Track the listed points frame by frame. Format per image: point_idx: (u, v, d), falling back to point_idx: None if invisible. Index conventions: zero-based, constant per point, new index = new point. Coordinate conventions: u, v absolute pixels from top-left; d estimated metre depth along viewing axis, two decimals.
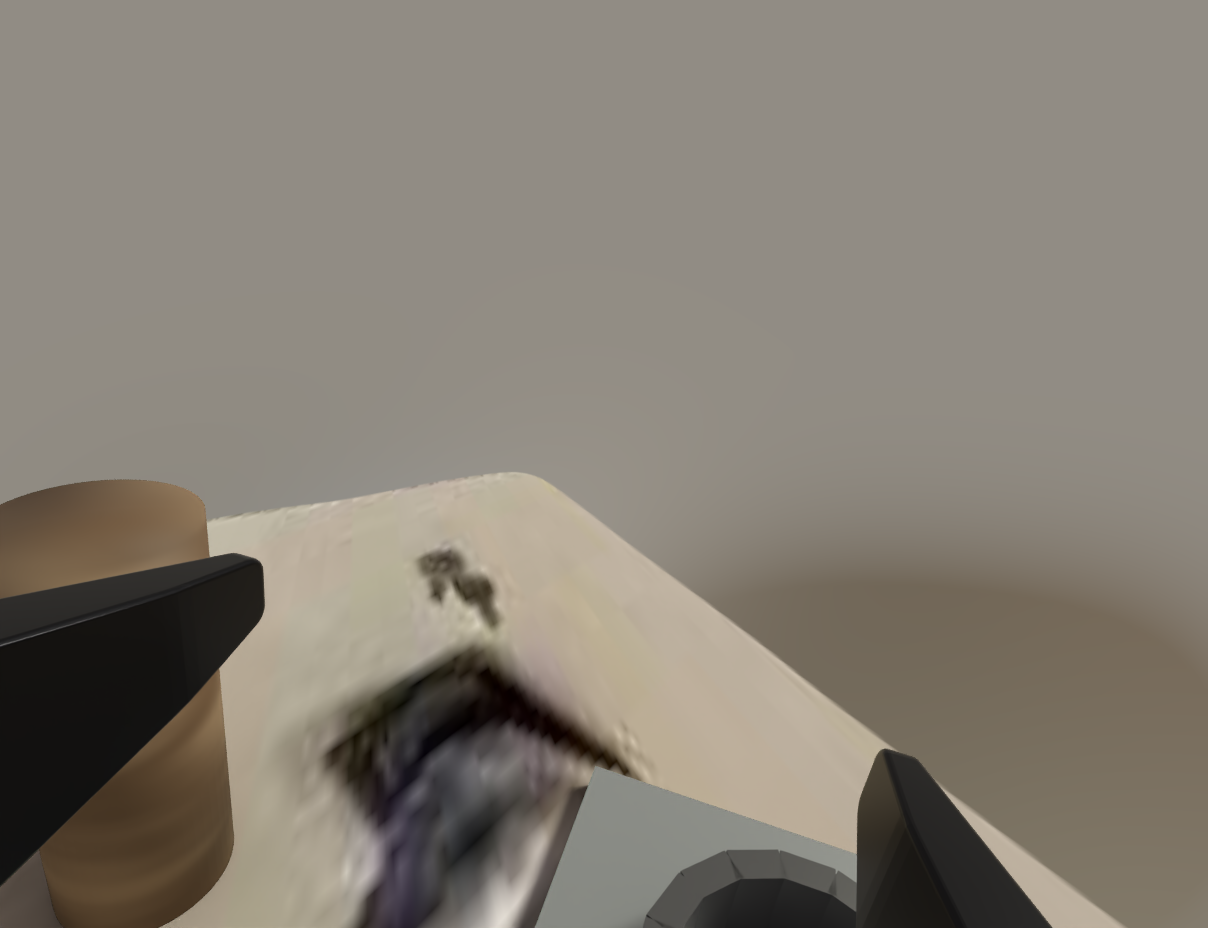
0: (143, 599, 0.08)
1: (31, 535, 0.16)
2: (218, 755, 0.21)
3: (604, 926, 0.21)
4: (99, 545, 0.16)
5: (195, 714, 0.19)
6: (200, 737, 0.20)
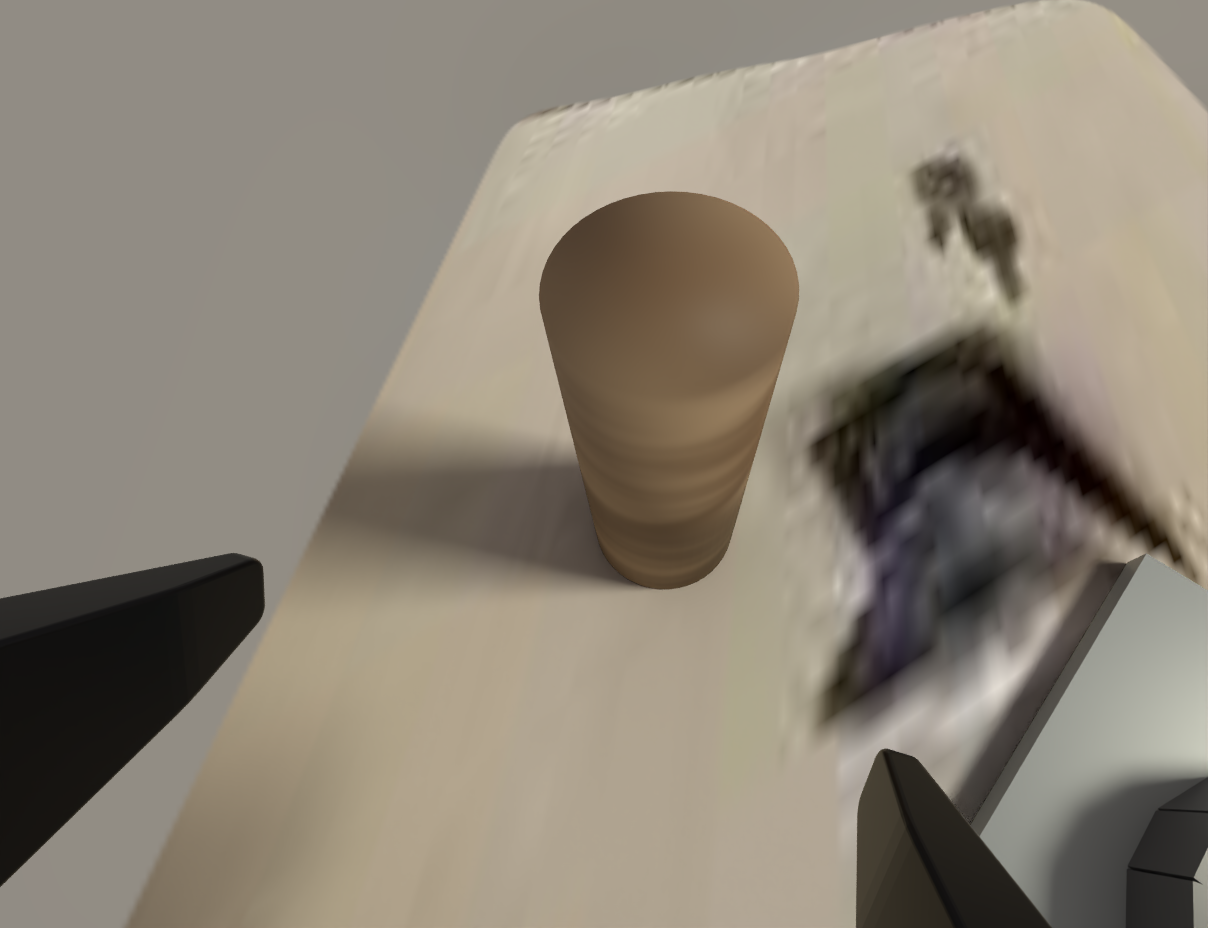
0: (143, 599, 0.08)
1: (607, 314, 0.13)
2: (744, 488, 0.20)
3: (1129, 752, 0.19)
4: (687, 345, 0.12)
5: (743, 477, 0.17)
6: (740, 489, 0.18)
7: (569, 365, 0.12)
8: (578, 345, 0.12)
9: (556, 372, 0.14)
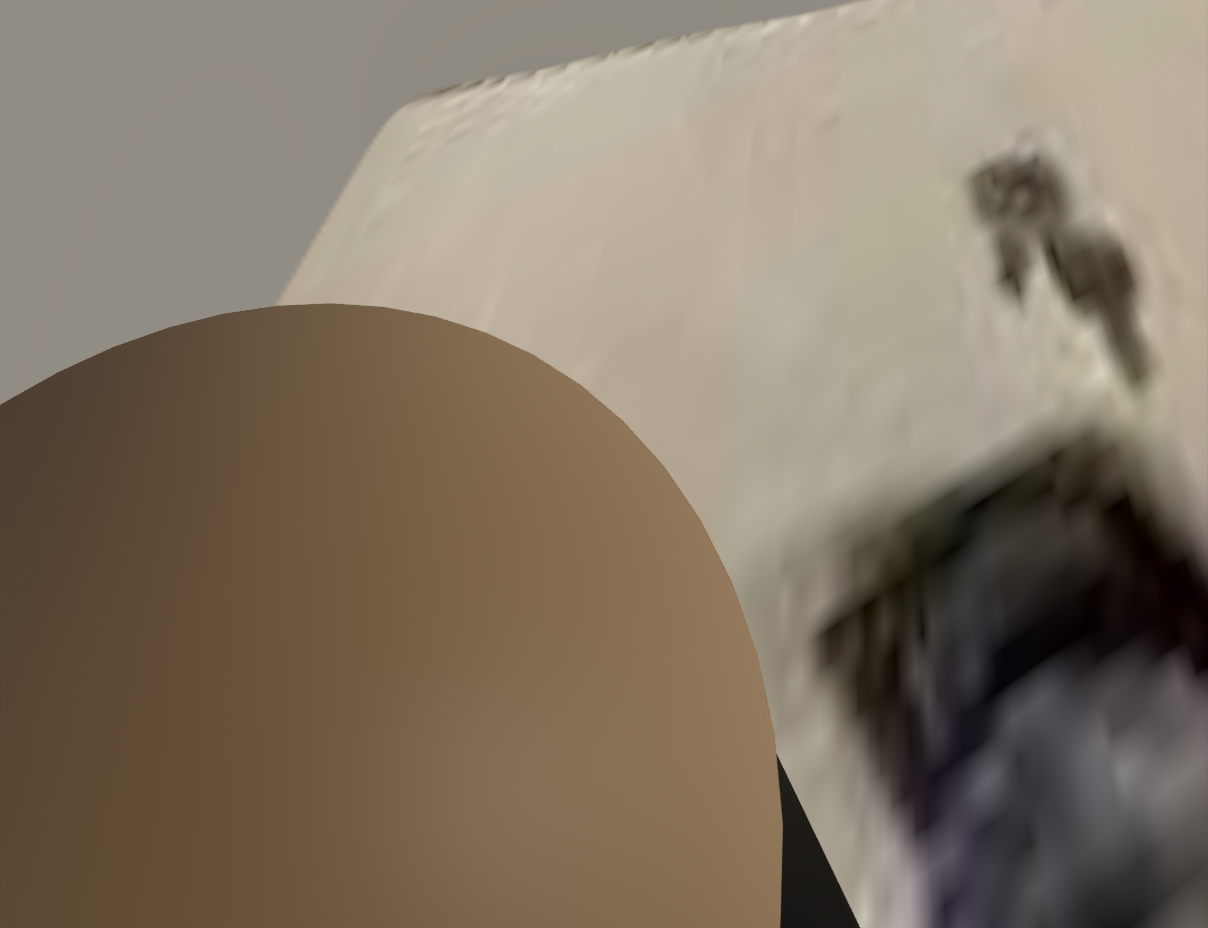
0: None
1: None
2: None
3: None
4: None
5: None
6: None
7: None
8: None
9: None
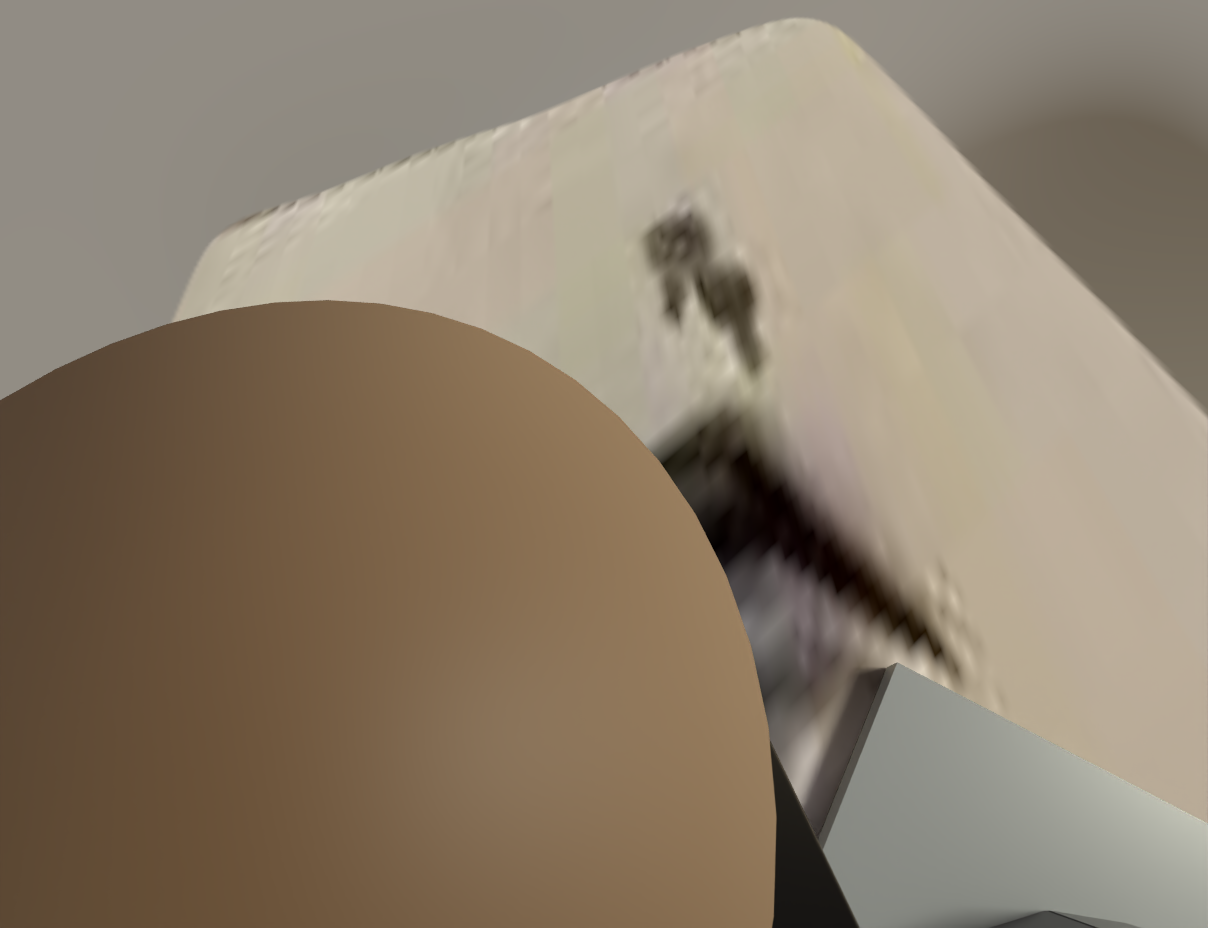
0: None
1: None
2: None
3: (892, 919, 0.17)
4: None
5: None
6: None
7: None
8: None
9: None
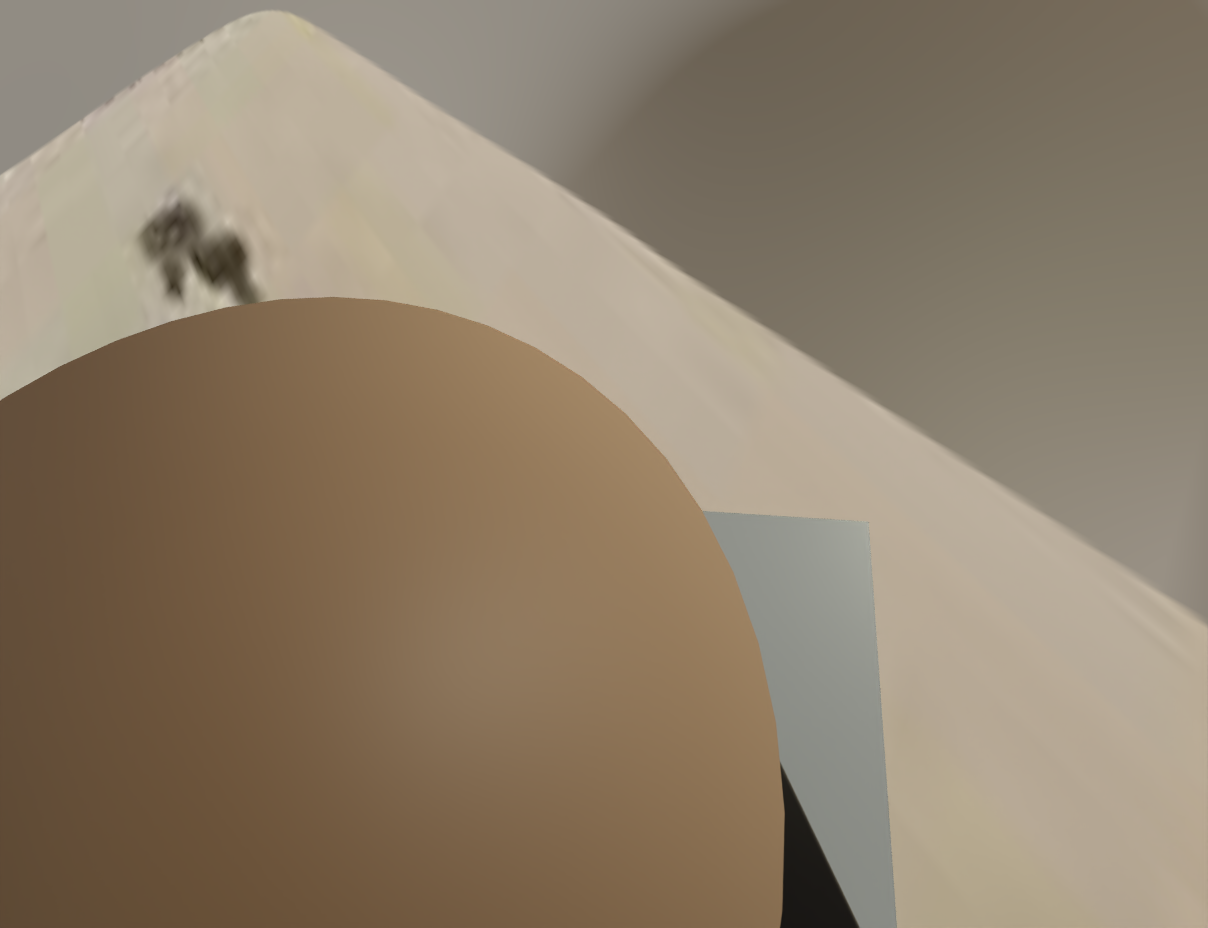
0: None
1: None
2: None
3: None
4: None
5: None
6: None
7: None
8: None
9: None
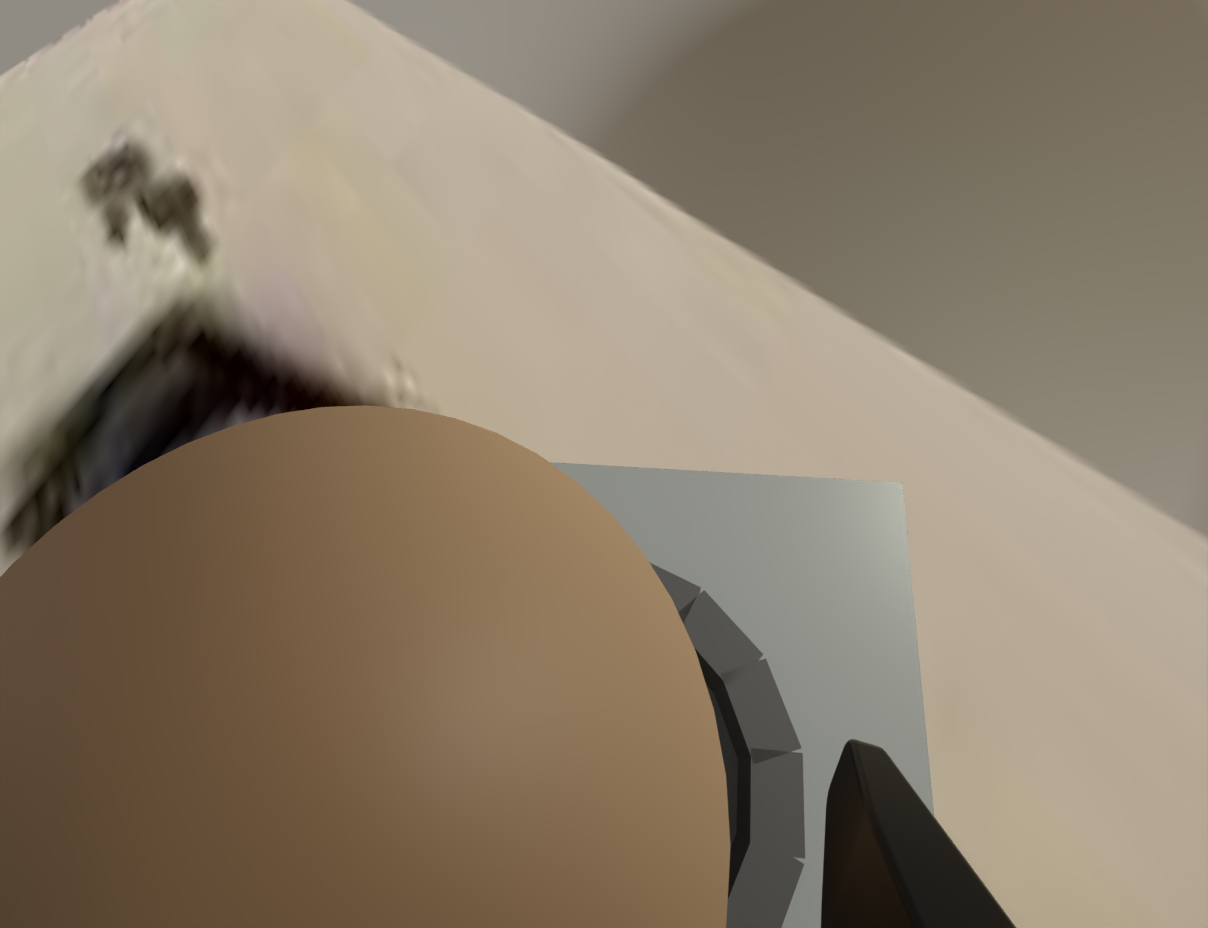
0: None
1: None
2: None
3: None
4: None
5: None
6: None
7: None
8: None
9: None
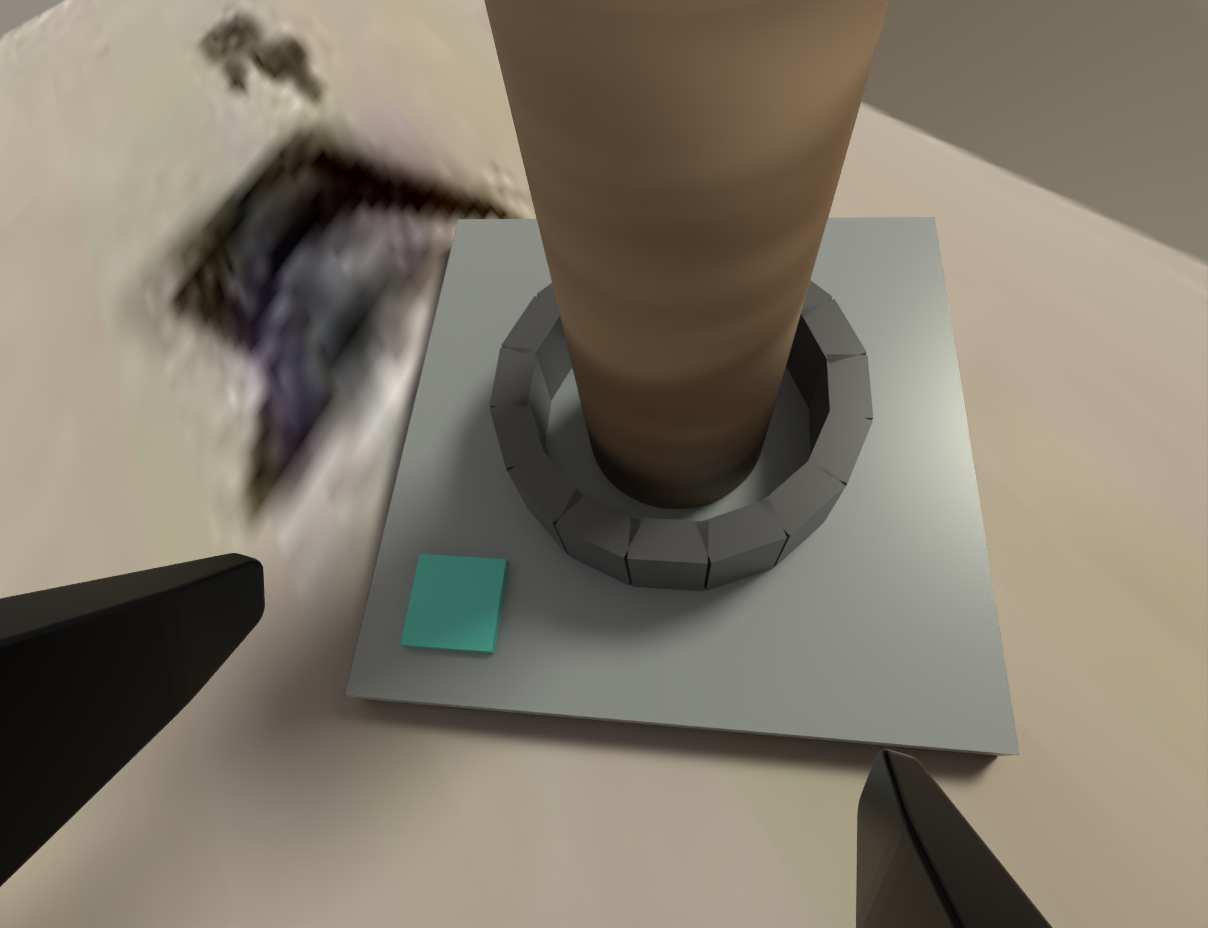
0: (143, 599, 0.08)
1: None
2: (789, 349, 0.14)
3: (487, 367, 0.21)
4: None
5: (795, 305, 0.12)
6: (788, 334, 0.13)
7: (515, 1, 0.07)
8: None
9: (505, 82, 0.09)
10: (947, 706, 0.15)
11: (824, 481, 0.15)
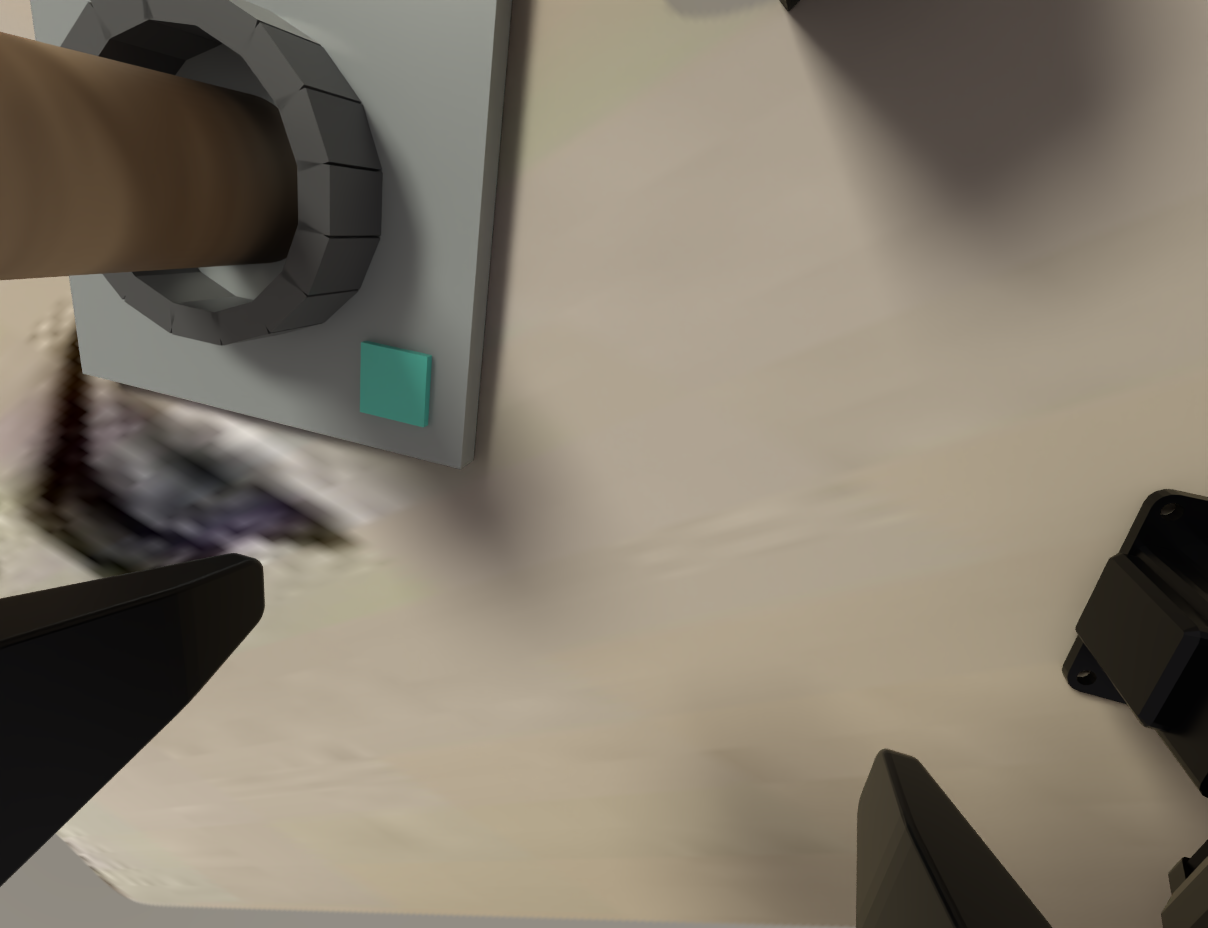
0: (143, 599, 0.08)
1: None
2: (114, 62, 0.16)
3: (212, 351, 0.24)
4: None
5: (34, 56, 0.13)
6: (77, 64, 0.14)
7: None
8: None
9: None
10: None
11: (257, 42, 0.17)
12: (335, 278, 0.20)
